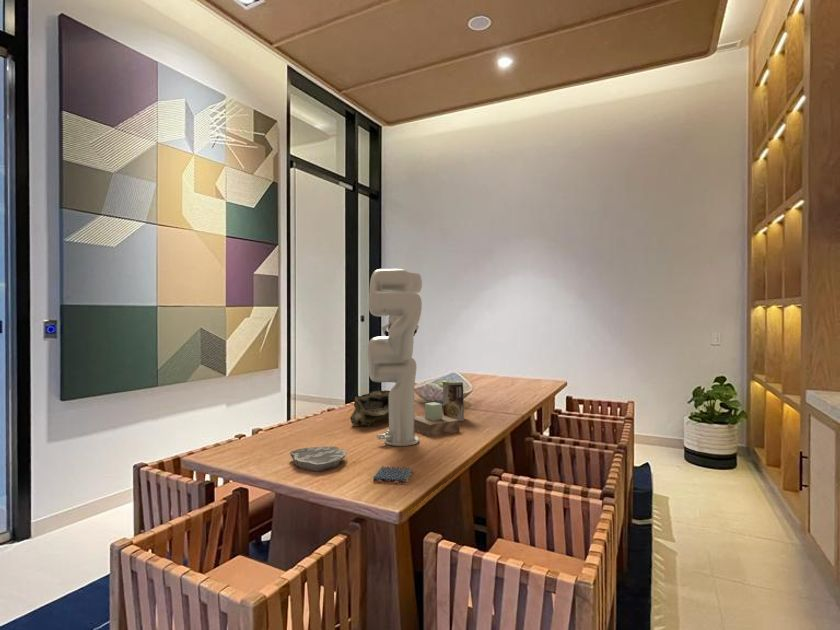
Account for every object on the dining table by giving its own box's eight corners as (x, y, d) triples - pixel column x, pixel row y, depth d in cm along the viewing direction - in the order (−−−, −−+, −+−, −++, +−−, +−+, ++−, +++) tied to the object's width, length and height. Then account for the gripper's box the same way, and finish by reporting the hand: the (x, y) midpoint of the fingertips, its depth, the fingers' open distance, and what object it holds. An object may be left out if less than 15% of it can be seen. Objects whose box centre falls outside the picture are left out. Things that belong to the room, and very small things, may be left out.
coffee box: (464, 418, 217) (463, 382, 217) (463, 421, 211) (463, 384, 211) (443, 417, 218) (443, 381, 218) (442, 421, 212) (442, 384, 212)
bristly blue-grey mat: (370, 484, 136) (370, 477, 136) (380, 472, 147) (380, 465, 147) (407, 486, 134) (407, 479, 134) (414, 474, 145) (414, 467, 145)
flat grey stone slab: (359, 463, 154) (359, 454, 154) (313, 477, 142) (313, 466, 142) (325, 451, 168) (325, 442, 168) (280, 462, 156) (280, 453, 156)
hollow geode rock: (395, 425, 224) (379, 399, 230) (411, 408, 218) (394, 382, 225) (351, 436, 202) (334, 407, 208) (367, 418, 196) (350, 389, 203)
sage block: (432, 420, 193) (432, 405, 193) (424, 418, 197) (424, 403, 197) (442, 418, 196) (442, 404, 196) (434, 416, 200) (434, 402, 200)
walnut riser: (430, 437, 186) (430, 424, 186) (408, 429, 199) (408, 417, 199) (459, 432, 193) (459, 420, 193) (436, 424, 207) (436, 413, 207)
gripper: (385, 305, 196) (386, 348, 196) (422, 305, 205) (422, 345, 205) (377, 305, 202) (378, 346, 202) (413, 305, 211) (413, 344, 211)
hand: (400, 346), depth 204 cm, fingers open, 9 cm apart
